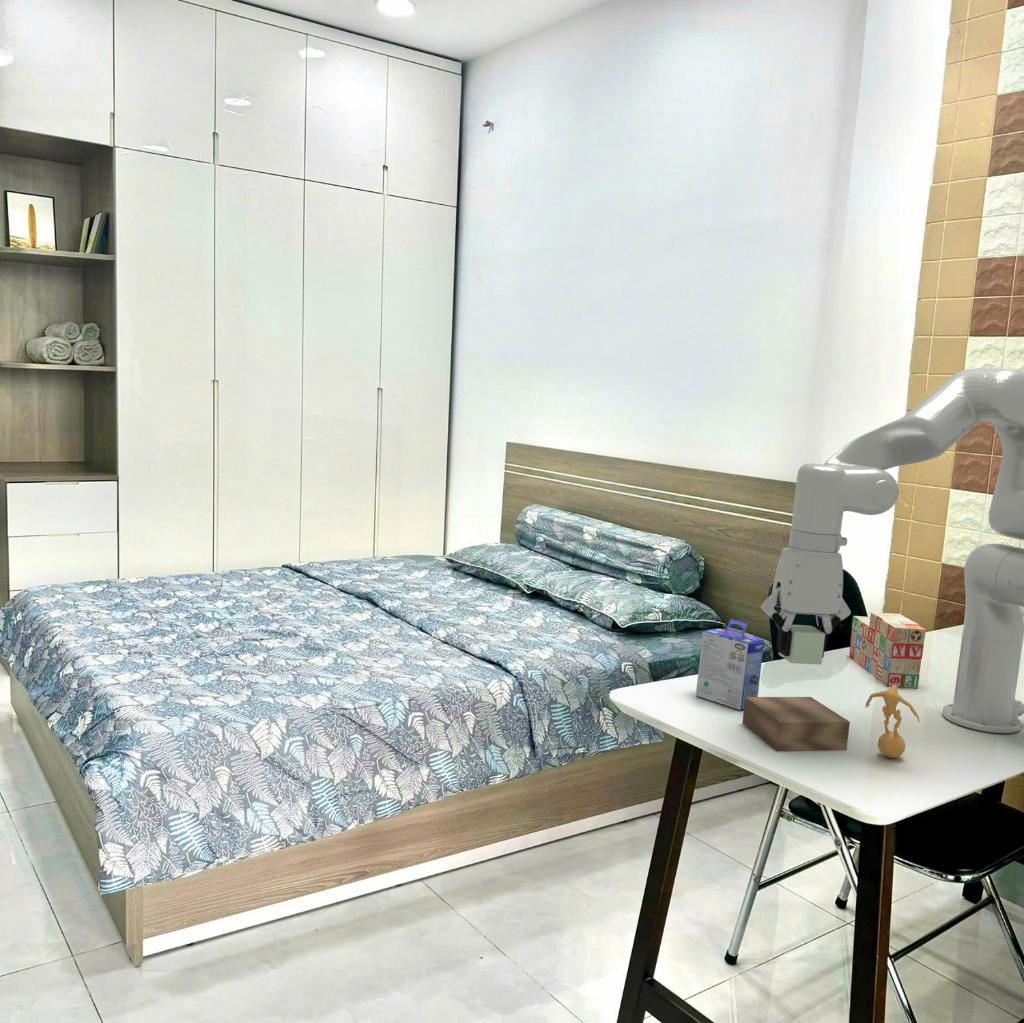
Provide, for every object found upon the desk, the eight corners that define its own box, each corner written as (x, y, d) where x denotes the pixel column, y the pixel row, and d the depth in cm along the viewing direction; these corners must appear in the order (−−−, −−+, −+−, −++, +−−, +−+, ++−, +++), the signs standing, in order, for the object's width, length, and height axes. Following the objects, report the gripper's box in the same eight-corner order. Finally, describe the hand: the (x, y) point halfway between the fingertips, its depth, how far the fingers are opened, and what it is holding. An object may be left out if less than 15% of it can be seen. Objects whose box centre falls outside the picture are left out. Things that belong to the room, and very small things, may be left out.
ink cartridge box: (759, 706, 172) (767, 626, 170) (741, 712, 168) (750, 630, 166) (712, 691, 179) (719, 614, 177) (694, 696, 175) (702, 618, 173)
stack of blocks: (847, 657, 210) (854, 601, 209) (876, 659, 210) (883, 603, 209) (886, 687, 189) (894, 626, 188) (918, 689, 189) (926, 628, 188)
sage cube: (807, 655, 158) (811, 625, 158) (821, 664, 153) (825, 633, 153) (778, 654, 158) (782, 624, 157) (791, 663, 153) (795, 632, 152)
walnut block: (807, 725, 164) (810, 696, 164) (846, 752, 153) (849, 721, 152) (742, 725, 162) (745, 696, 161) (776, 753, 150) (780, 722, 150)
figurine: (921, 762, 150) (931, 687, 148) (907, 772, 145) (917, 694, 144) (868, 746, 155) (877, 673, 154) (853, 755, 151) (862, 680, 149)
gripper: (853, 542, 158) (839, 650, 160) (753, 535, 156) (741, 646, 158) (876, 550, 151) (861, 663, 153) (772, 543, 148) (758, 659, 150)
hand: (800, 653), depth 155 cm, fingers closed on sage cube, 5 cm apart
